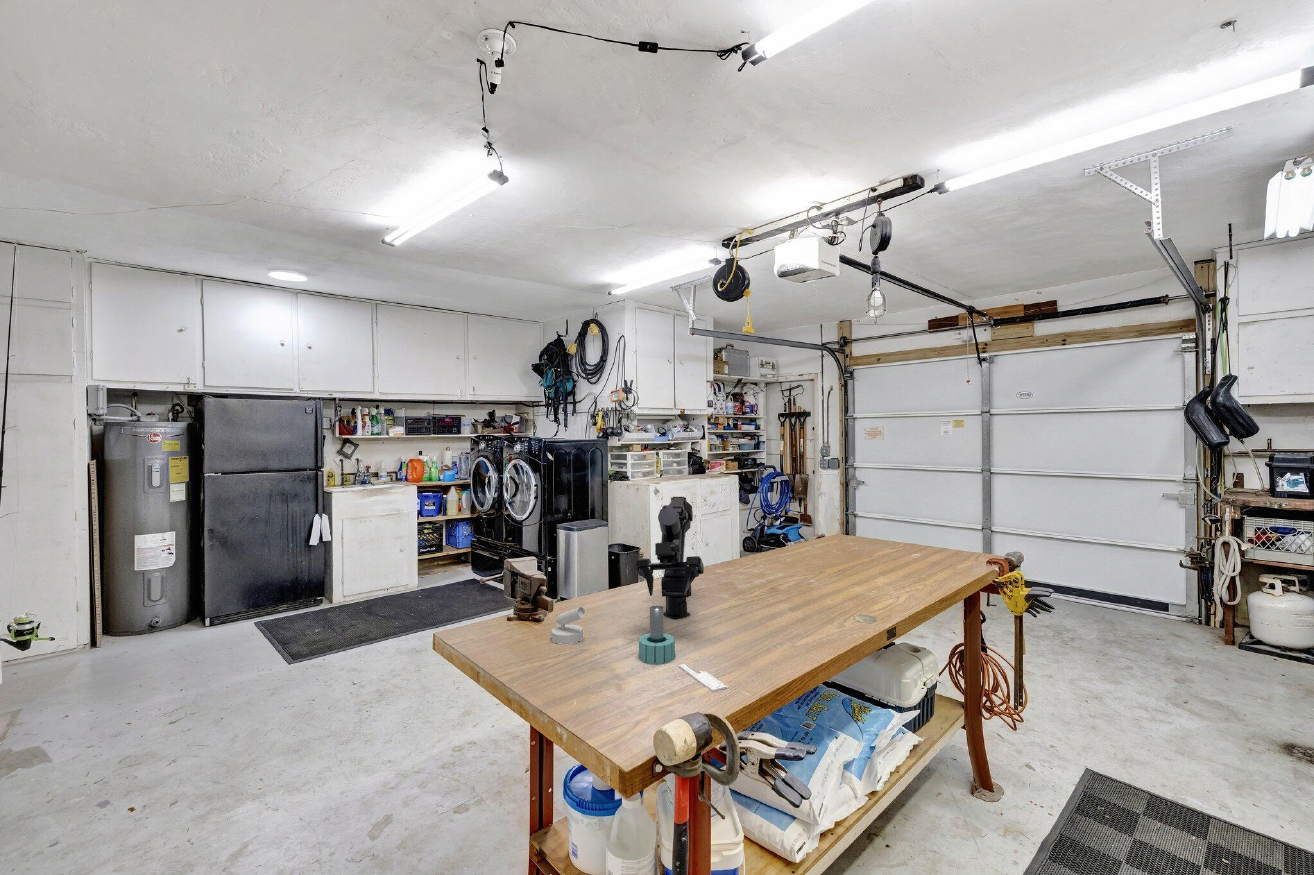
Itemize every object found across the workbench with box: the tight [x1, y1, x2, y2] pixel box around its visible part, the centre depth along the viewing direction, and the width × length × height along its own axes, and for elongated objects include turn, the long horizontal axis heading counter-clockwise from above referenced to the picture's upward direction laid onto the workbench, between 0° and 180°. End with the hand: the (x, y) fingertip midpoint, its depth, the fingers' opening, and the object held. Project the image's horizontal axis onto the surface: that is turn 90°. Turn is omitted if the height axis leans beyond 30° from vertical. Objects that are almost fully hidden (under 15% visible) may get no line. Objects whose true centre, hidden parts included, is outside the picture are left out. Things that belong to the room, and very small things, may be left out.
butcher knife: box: [678, 663, 729, 693], centre depth 129 cm, size 5×15×1 cm, turn 27°
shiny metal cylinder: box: [649, 605, 665, 643], centre depth 140 cm, size 4×4×12 cm
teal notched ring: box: [638, 632, 676, 665], centre depth 140 cm, size 9×9×4 cm
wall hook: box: [551, 606, 586, 645], centre depth 153 cm, size 9×10×10 cm
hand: (667, 595), depth 149 cm, fingers open, 9 cm apart
